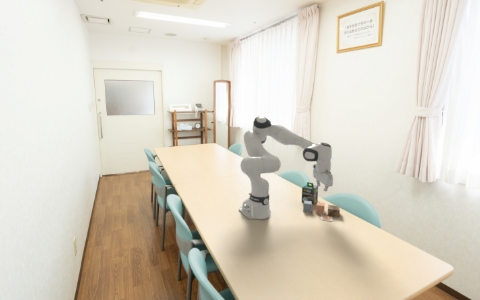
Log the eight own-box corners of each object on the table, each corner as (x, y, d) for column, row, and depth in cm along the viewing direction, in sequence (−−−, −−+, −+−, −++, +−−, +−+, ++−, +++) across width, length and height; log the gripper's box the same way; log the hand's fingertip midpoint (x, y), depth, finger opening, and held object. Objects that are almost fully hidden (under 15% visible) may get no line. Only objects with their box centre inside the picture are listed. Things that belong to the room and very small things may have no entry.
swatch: (320, 219, 165) (320, 219, 165) (320, 215, 171) (321, 215, 170) (332, 221, 163) (332, 220, 163) (332, 217, 168) (332, 216, 168)
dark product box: (317, 200, 195) (319, 181, 192) (313, 205, 187) (314, 185, 184) (305, 198, 200) (306, 179, 197) (301, 201, 193) (302, 182, 189)
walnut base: (327, 216, 171) (328, 208, 170) (327, 211, 177) (328, 204, 176) (339, 217, 169) (339, 210, 167) (338, 213, 175) (339, 206, 174)
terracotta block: (316, 213, 174) (316, 205, 173) (316, 210, 179) (317, 202, 177) (323, 214, 172) (324, 206, 171) (324, 211, 177) (324, 203, 176)
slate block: (303, 211, 177) (303, 203, 175) (303, 208, 181) (304, 200, 180) (310, 212, 175) (311, 204, 174) (311, 209, 180) (311, 201, 178)
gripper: (336, 172, 160) (334, 193, 163) (320, 163, 180) (319, 183, 182) (326, 172, 159) (325, 194, 162) (311, 164, 178) (310, 183, 181)
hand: (321, 188), depth 172 cm, fingers open, 8 cm apart
